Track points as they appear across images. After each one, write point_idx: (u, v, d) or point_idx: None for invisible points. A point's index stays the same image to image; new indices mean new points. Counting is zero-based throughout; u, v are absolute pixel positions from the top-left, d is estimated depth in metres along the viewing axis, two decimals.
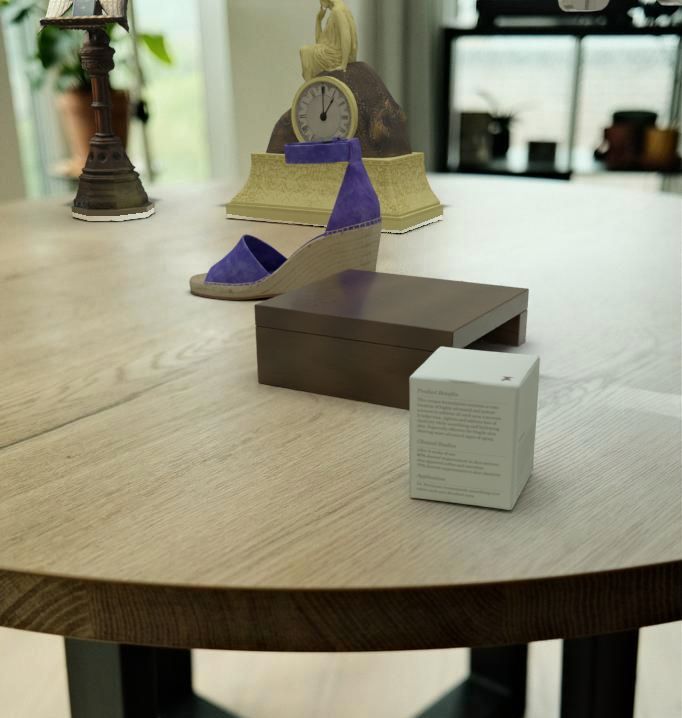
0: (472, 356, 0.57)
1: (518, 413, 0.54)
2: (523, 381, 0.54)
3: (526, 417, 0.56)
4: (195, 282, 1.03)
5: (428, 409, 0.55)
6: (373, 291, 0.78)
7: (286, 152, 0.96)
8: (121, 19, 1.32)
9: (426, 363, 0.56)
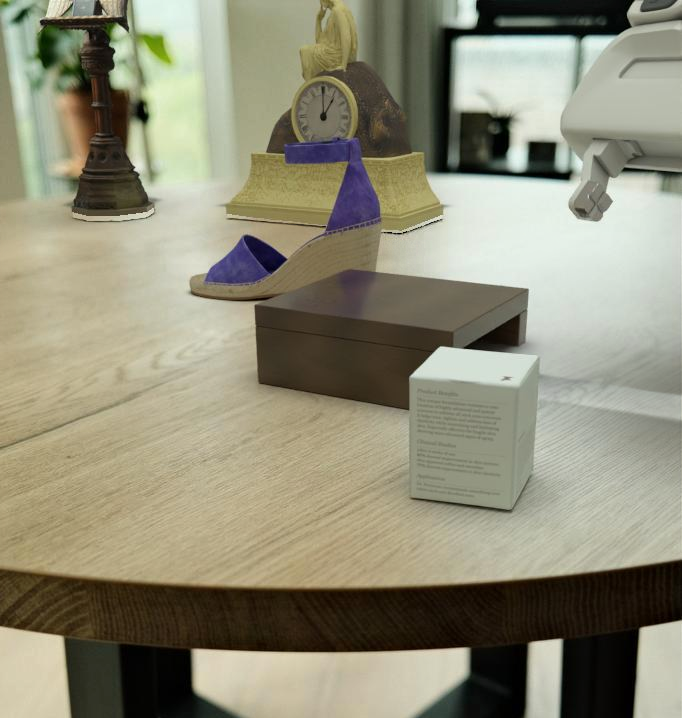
0: (471, 356, 0.57)
1: (518, 413, 0.54)
2: (523, 381, 0.54)
3: (526, 417, 0.56)
4: (195, 282, 1.03)
5: (427, 409, 0.55)
6: (373, 291, 0.78)
7: (286, 152, 0.96)
8: (121, 19, 1.32)
9: (426, 363, 0.56)
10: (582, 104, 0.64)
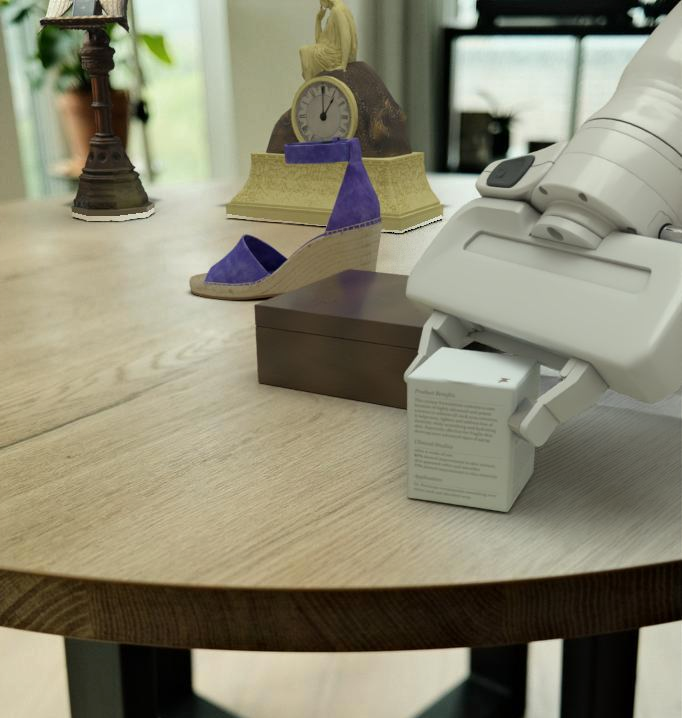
0: (472, 357, 0.57)
1: None
2: (520, 383, 0.54)
3: None
4: (195, 282, 1.03)
5: (425, 409, 0.55)
6: (373, 291, 0.78)
7: (286, 152, 0.96)
8: (121, 19, 1.32)
9: (425, 363, 0.56)
10: (427, 271, 0.62)
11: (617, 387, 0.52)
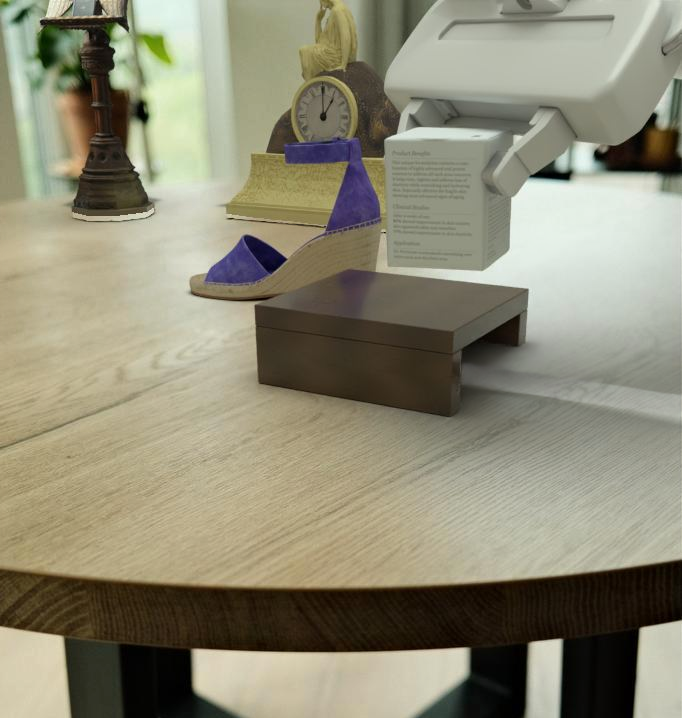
0: (447, 129, 0.60)
1: None
2: (492, 138, 0.56)
3: None
4: (195, 282, 1.03)
5: (402, 171, 0.57)
6: (373, 291, 0.78)
7: (286, 152, 0.96)
8: (121, 19, 1.32)
9: (402, 133, 0.59)
10: (404, 64, 0.65)
11: (584, 133, 0.54)
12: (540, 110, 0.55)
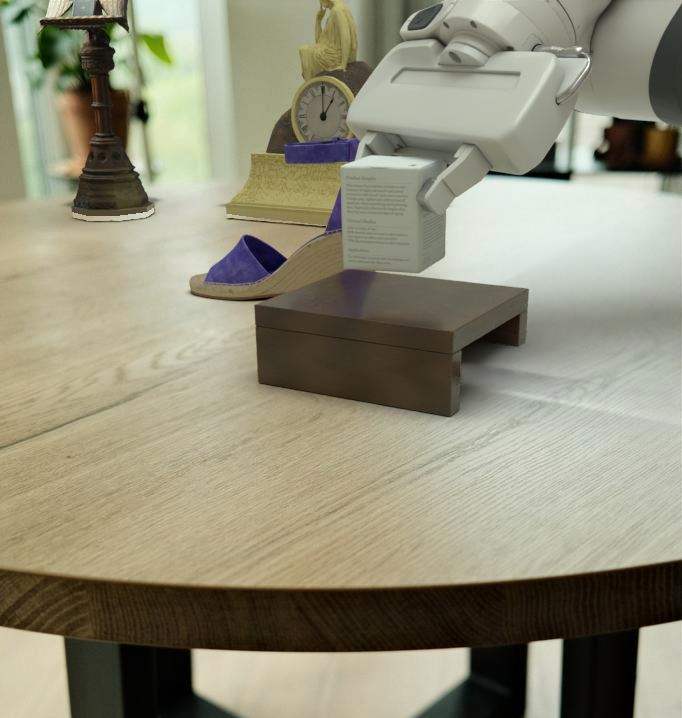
0: (393, 157, 0.73)
1: None
2: (425, 167, 0.70)
3: None
4: (195, 282, 1.03)
5: (354, 192, 0.71)
6: (373, 291, 0.78)
7: (286, 152, 0.96)
8: (121, 19, 1.32)
9: (356, 161, 0.73)
10: (362, 102, 0.79)
11: (497, 164, 0.68)
12: (462, 146, 0.68)
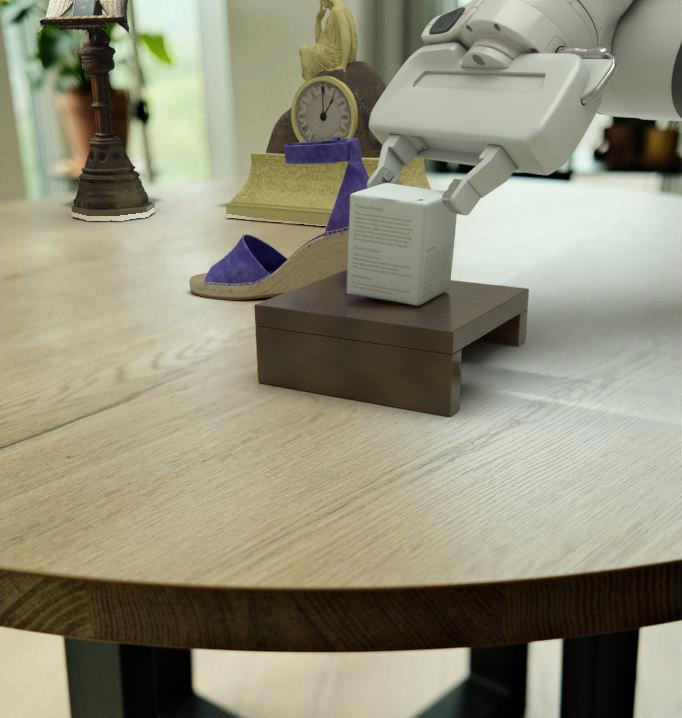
0: (405, 188, 0.74)
1: (426, 226, 0.70)
2: (433, 203, 0.71)
3: (437, 235, 0.73)
4: (195, 282, 1.03)
5: (361, 221, 0.72)
6: None
7: (286, 152, 0.96)
8: (121, 19, 1.32)
9: (368, 189, 0.74)
10: (385, 105, 0.79)
11: (523, 165, 0.69)
12: (488, 147, 0.69)
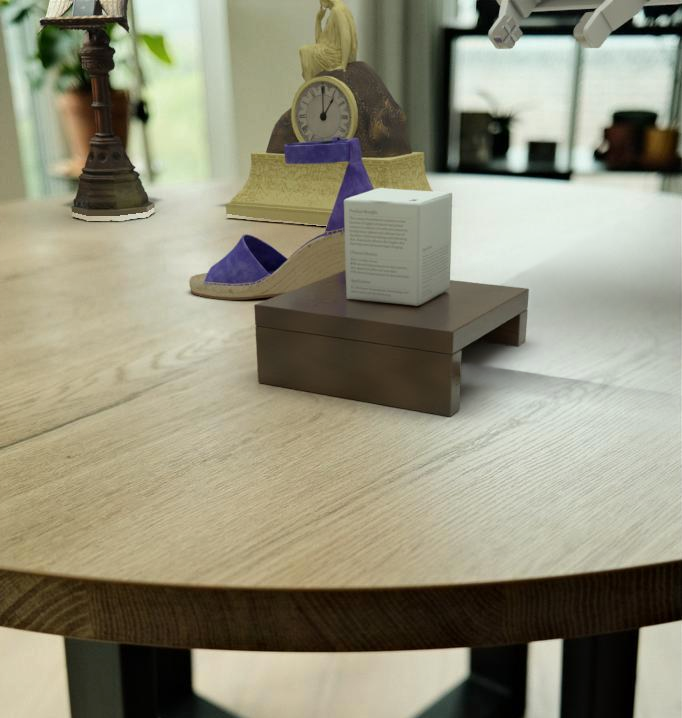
0: (399, 191, 0.75)
1: (420, 226, 0.71)
2: (426, 202, 0.71)
3: (433, 235, 0.73)
4: (195, 282, 1.03)
5: (357, 225, 0.73)
6: None
7: (286, 152, 0.96)
8: (121, 19, 1.32)
9: (361, 194, 0.74)
10: None
11: None
12: None
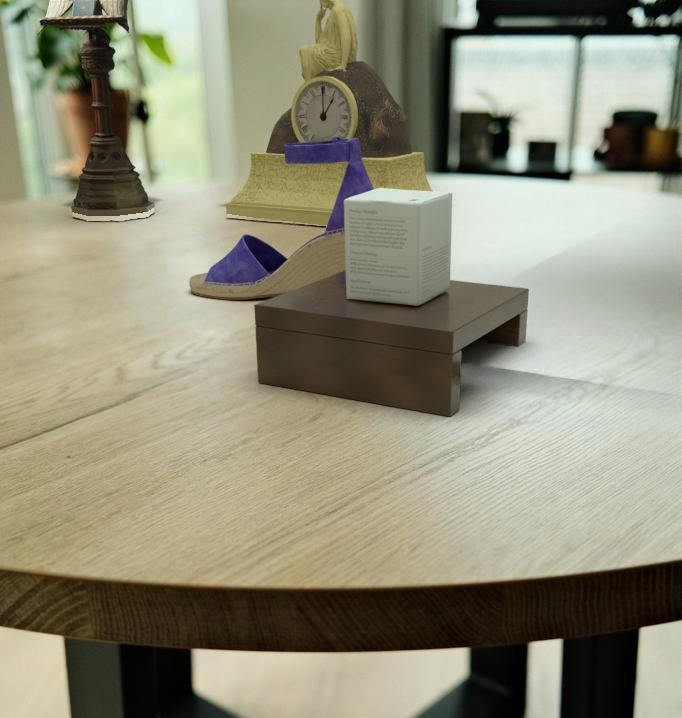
0: (399, 191, 0.75)
1: (420, 226, 0.71)
2: (426, 202, 0.71)
3: (433, 235, 0.73)
4: (195, 282, 1.03)
5: (357, 225, 0.73)
6: None
7: (286, 152, 0.96)
8: (121, 19, 1.32)
9: (361, 194, 0.74)
10: None
11: None
12: None
